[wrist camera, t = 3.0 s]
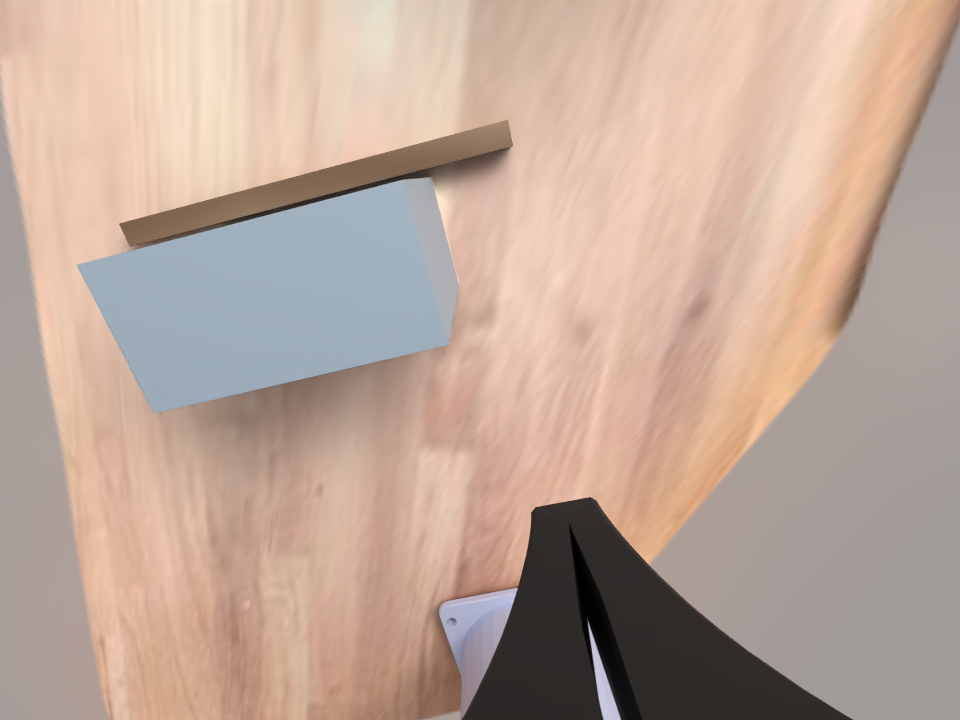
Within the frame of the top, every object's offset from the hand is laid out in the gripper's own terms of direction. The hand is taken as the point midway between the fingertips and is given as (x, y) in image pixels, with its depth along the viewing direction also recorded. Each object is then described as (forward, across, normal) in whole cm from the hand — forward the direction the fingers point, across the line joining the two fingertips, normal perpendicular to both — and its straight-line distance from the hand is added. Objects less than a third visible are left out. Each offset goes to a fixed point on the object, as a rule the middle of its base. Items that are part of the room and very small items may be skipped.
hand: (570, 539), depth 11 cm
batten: (+10, +6, -8) cm, 15 cm away
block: (+10, +6, -6) cm, 13 cm away
